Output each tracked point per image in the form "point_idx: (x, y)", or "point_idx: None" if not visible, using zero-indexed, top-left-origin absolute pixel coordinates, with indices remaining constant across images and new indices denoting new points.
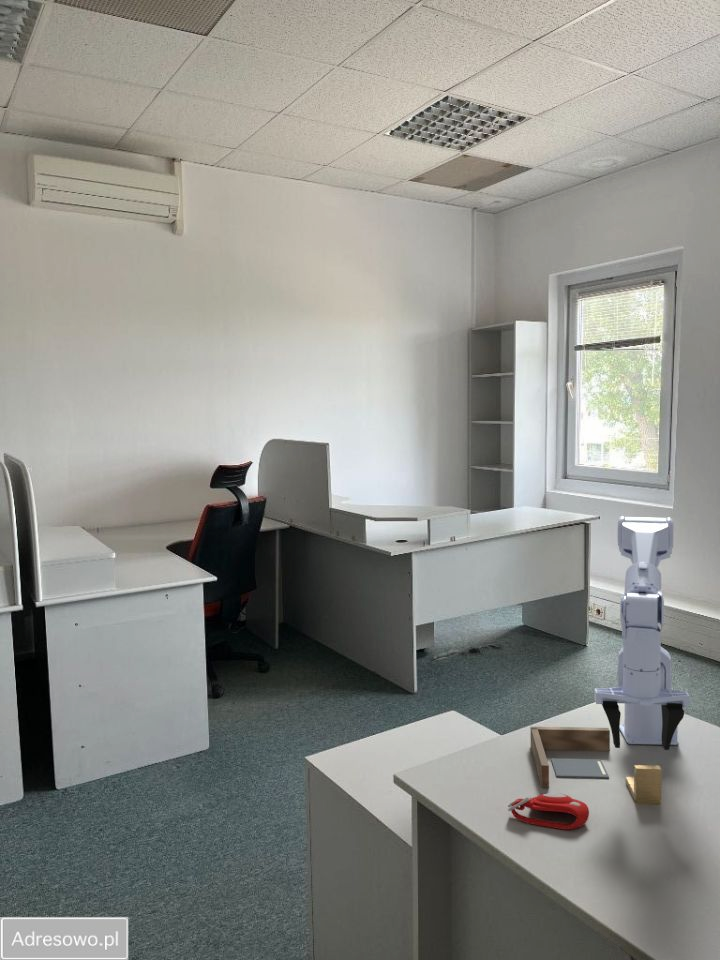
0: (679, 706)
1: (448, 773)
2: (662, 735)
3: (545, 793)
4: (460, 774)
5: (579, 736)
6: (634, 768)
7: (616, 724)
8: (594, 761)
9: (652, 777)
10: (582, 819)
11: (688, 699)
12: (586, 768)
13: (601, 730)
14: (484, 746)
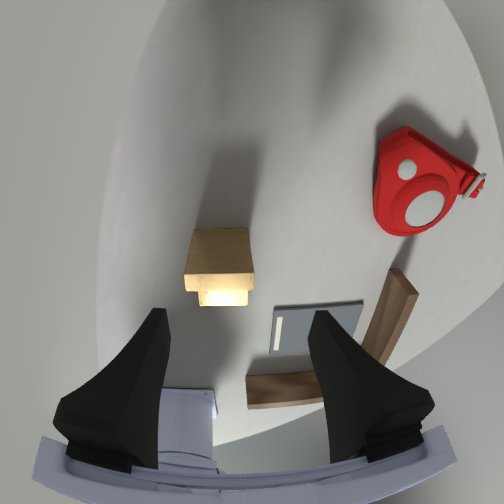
0: (78, 449)
1: (476, 289)
2: (164, 360)
3: (426, 226)
4: (468, 289)
5: (296, 391)
6: (253, 281)
7: (366, 369)
8: (282, 349)
9: (209, 260)
10: (394, 135)
11: (38, 467)
12: (304, 330)
13: (262, 403)
14: (412, 355)
